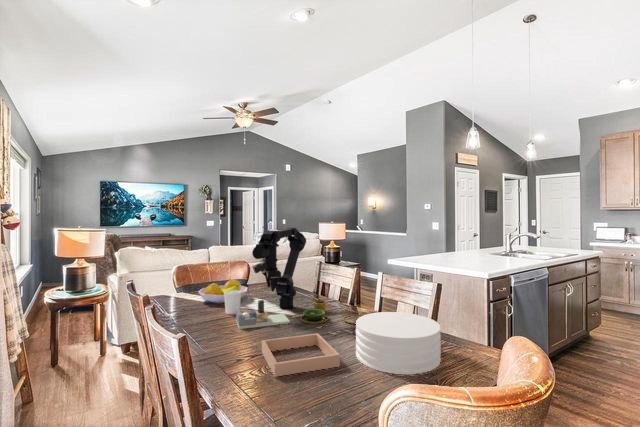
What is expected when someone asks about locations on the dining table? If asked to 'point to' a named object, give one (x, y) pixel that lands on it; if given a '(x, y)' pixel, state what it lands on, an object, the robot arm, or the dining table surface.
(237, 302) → the white cup
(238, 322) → the pitch
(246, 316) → the ball
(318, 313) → the tableware set
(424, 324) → the plate stack
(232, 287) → the fruit bowl
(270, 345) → the rectangular frame
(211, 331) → the dining table surface
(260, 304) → the sled
